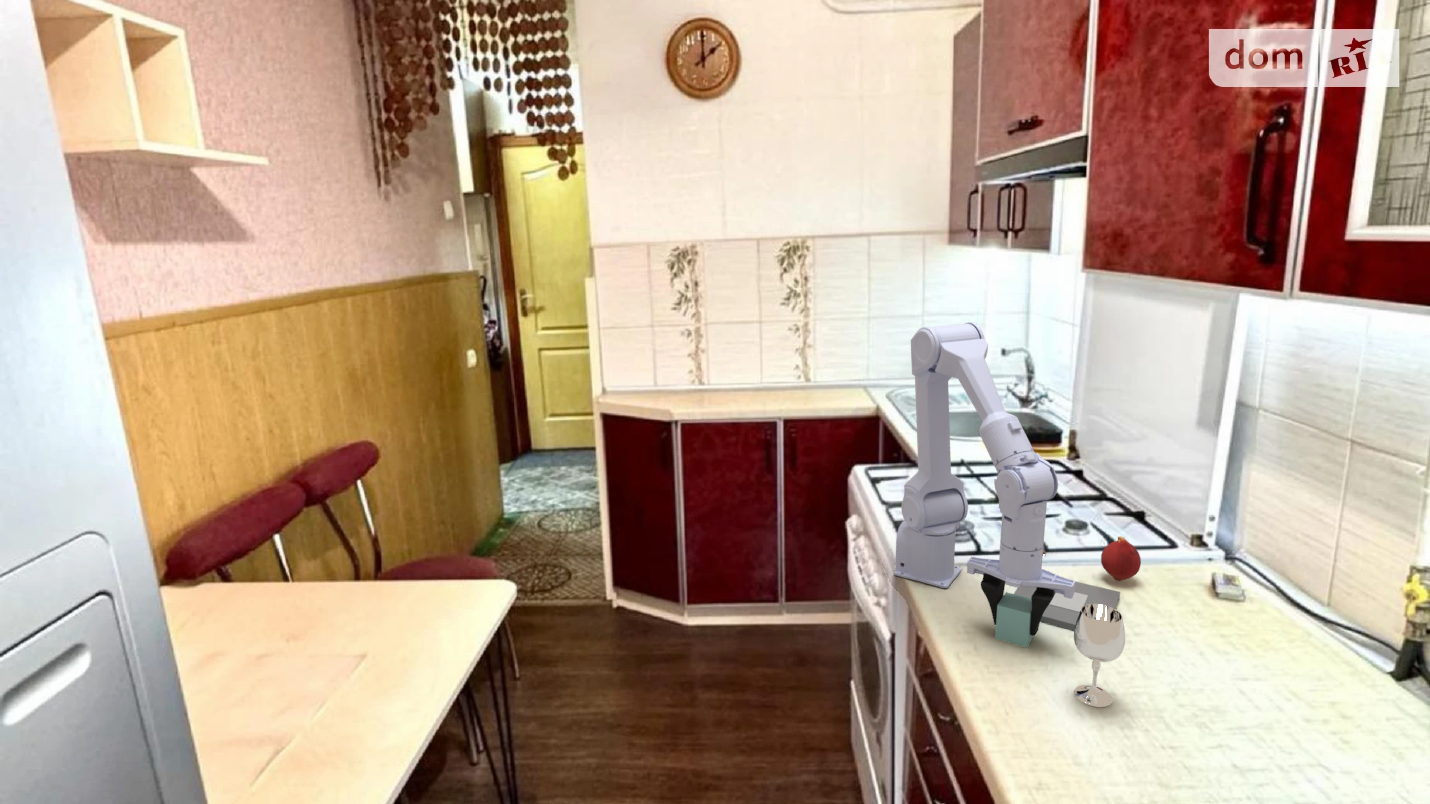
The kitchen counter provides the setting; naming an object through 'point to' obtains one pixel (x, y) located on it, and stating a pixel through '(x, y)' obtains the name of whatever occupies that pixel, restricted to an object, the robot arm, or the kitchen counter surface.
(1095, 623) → the wineglass
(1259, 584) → the kitchen counter surface
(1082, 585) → the tile
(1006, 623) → the block
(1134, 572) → the onion
